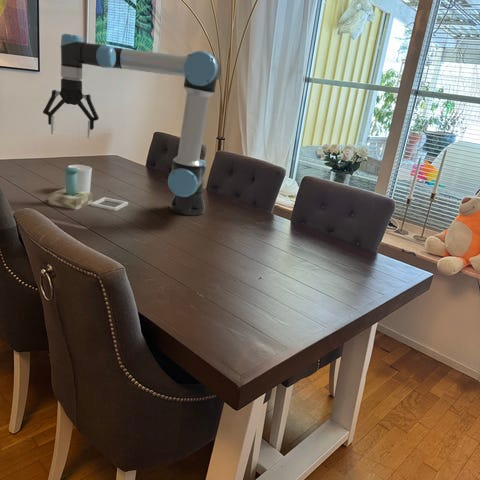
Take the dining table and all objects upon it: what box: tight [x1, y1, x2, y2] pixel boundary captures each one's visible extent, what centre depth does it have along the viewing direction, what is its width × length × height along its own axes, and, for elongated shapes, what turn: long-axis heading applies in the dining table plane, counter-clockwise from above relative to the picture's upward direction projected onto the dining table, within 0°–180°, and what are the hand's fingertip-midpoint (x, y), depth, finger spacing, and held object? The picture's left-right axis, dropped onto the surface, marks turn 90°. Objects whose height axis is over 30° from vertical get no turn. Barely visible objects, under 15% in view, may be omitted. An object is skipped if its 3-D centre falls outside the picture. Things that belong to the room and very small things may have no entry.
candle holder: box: [67, 164, 93, 193], centre depth 194 cm, size 10×10×12 cm
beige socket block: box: [47, 187, 94, 211], centre depth 179 cm, size 12×12×5 cm
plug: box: [64, 167, 78, 196], centre depth 177 cm, size 5×5×14 cm
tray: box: [90, 196, 129, 212], centre depth 185 cm, size 11×11×2 cm
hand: (71, 135), depth 176 cm, fingers open, 13 cm apart
